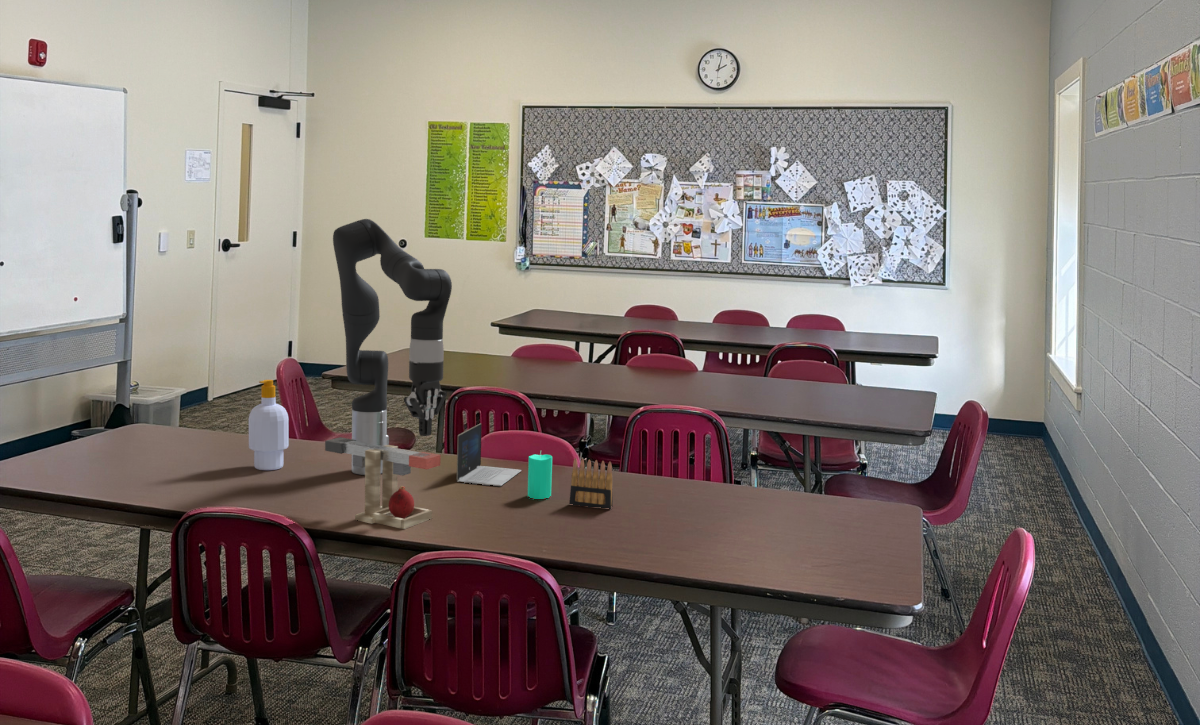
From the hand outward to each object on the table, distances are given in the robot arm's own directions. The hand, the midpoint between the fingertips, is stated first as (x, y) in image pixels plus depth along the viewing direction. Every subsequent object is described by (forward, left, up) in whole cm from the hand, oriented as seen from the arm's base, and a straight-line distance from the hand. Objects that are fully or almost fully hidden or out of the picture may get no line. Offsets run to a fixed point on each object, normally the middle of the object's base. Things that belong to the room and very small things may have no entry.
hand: (425, 435), depth 226 cm
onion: (0, -7, -21) cm, 22 cm away
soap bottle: (-17, -67, -21) cm, 72 cm away
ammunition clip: (-36, +23, -21) cm, 48 cm away
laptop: (-45, -13, -21) cm, 51 cm away
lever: (0, -13, -10) cm, 16 cm away
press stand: (0, -8, -21) cm, 22 cm away
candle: (-36, +8, -21) cm, 43 cm away
